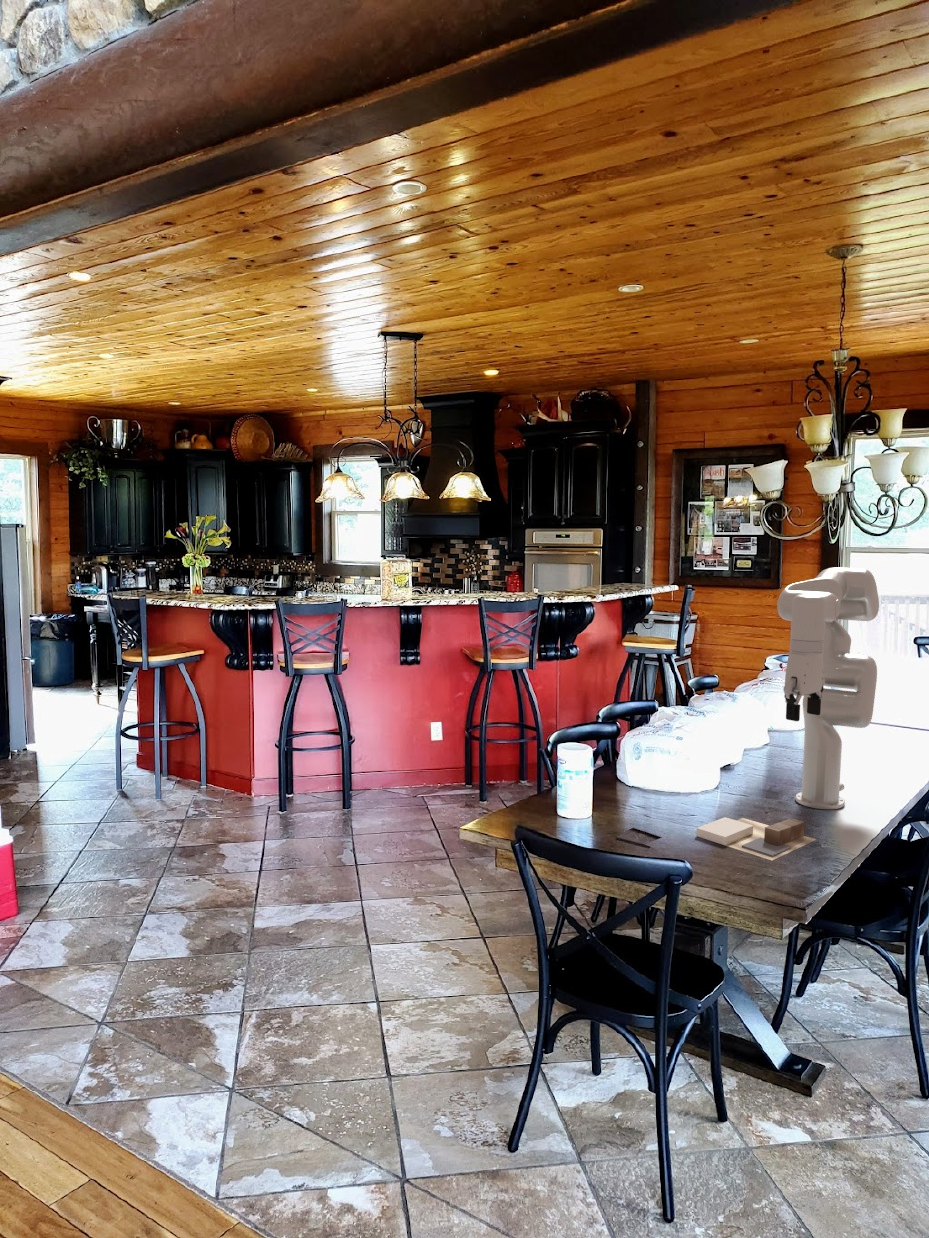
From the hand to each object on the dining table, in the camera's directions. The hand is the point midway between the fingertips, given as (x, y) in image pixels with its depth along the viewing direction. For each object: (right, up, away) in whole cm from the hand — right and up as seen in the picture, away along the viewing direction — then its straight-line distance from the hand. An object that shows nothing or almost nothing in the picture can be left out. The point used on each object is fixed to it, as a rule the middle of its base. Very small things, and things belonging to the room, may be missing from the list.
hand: (803, 717), depth 218 cm
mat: (-11, -30, -6) cm, 32 cm away
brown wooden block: (-9, -28, -5) cm, 29 cm away
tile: (-13, -27, +6) cm, 31 cm away
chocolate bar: (-35, -30, +7) cm, 47 cm away
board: (-11, -30, +1) cm, 32 cm away
